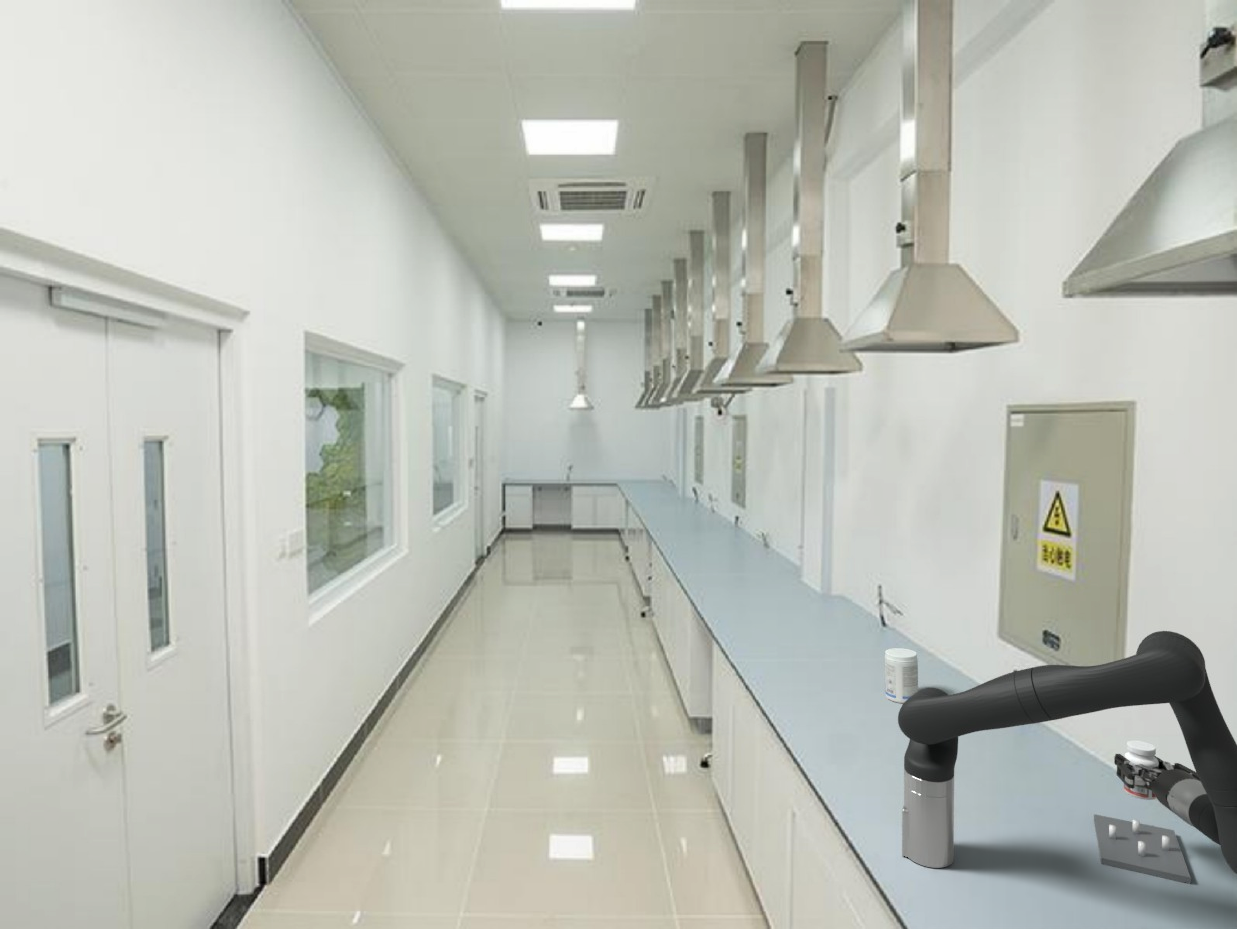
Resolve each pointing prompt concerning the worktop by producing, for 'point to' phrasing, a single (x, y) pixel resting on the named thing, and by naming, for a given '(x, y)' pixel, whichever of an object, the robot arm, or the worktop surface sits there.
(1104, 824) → the grey pegged board
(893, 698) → the supplement tub
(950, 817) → the robot arm
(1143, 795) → the pill bottle
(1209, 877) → the worktop surface
